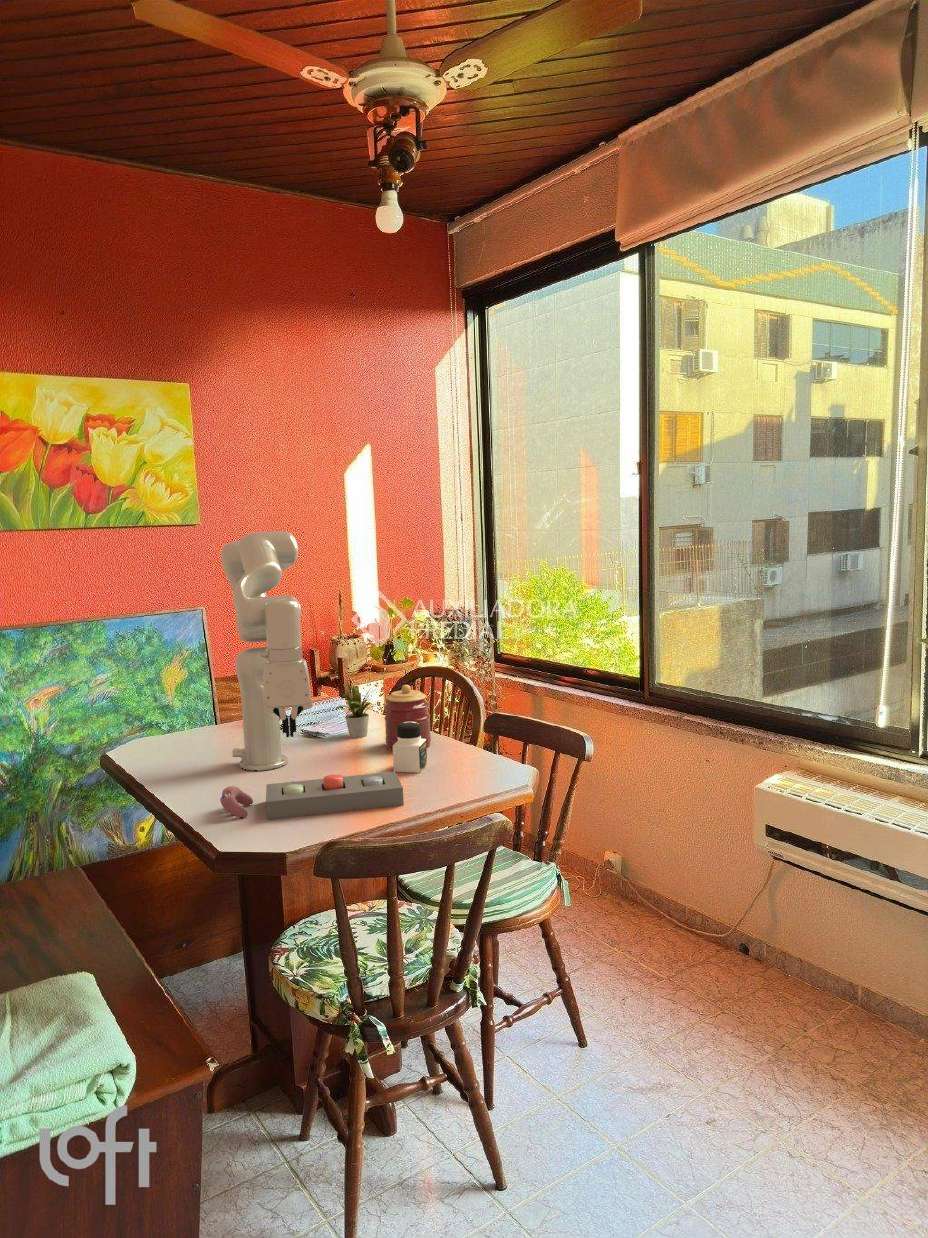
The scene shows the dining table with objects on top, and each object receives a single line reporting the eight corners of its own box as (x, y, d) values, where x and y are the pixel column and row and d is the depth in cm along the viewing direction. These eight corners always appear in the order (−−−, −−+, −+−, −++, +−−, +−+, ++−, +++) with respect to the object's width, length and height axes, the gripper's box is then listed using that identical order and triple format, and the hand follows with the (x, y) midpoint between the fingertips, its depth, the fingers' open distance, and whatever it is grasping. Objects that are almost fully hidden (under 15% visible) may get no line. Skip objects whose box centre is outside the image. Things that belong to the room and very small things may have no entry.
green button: (284, 805, 189) (283, 791, 189) (284, 798, 194) (283, 785, 193) (304, 802, 190) (303, 789, 190) (303, 796, 195) (302, 783, 194)
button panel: (267, 819, 185) (265, 801, 184) (267, 801, 197) (266, 784, 197) (403, 804, 191) (402, 787, 190) (395, 787, 203) (395, 771, 203)
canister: (418, 737, 251) (415, 678, 249) (439, 746, 240) (437, 685, 238) (378, 744, 244) (375, 684, 242) (398, 754, 233) (395, 691, 231)
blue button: (364, 796, 193) (364, 782, 193) (363, 790, 197) (362, 777, 197) (384, 794, 194) (383, 780, 194) (381, 788, 198) (381, 775, 198)
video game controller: (237, 811, 195) (221, 786, 194) (255, 801, 196) (239, 776, 194) (230, 826, 186) (213, 800, 185) (249, 816, 186) (232, 789, 185)
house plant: (321, 736, 256) (318, 683, 255) (359, 727, 266) (356, 676, 264) (349, 744, 246) (346, 688, 244) (387, 734, 255) (384, 681, 253)
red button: (324, 795, 191) (323, 781, 191) (323, 789, 195) (322, 775, 195) (344, 793, 192) (343, 779, 192) (342, 787, 196) (342, 773, 196)
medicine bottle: (420, 773, 215) (418, 726, 213) (393, 772, 216) (391, 726, 215) (427, 765, 222) (425, 720, 220) (401, 764, 223) (399, 719, 222)
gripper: (249, 660, 183) (255, 743, 185) (319, 655, 186) (324, 737, 188) (250, 654, 190) (256, 734, 193) (318, 650, 193) (322, 728, 196)
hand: (289, 735), depth 190 cm, fingers closed
